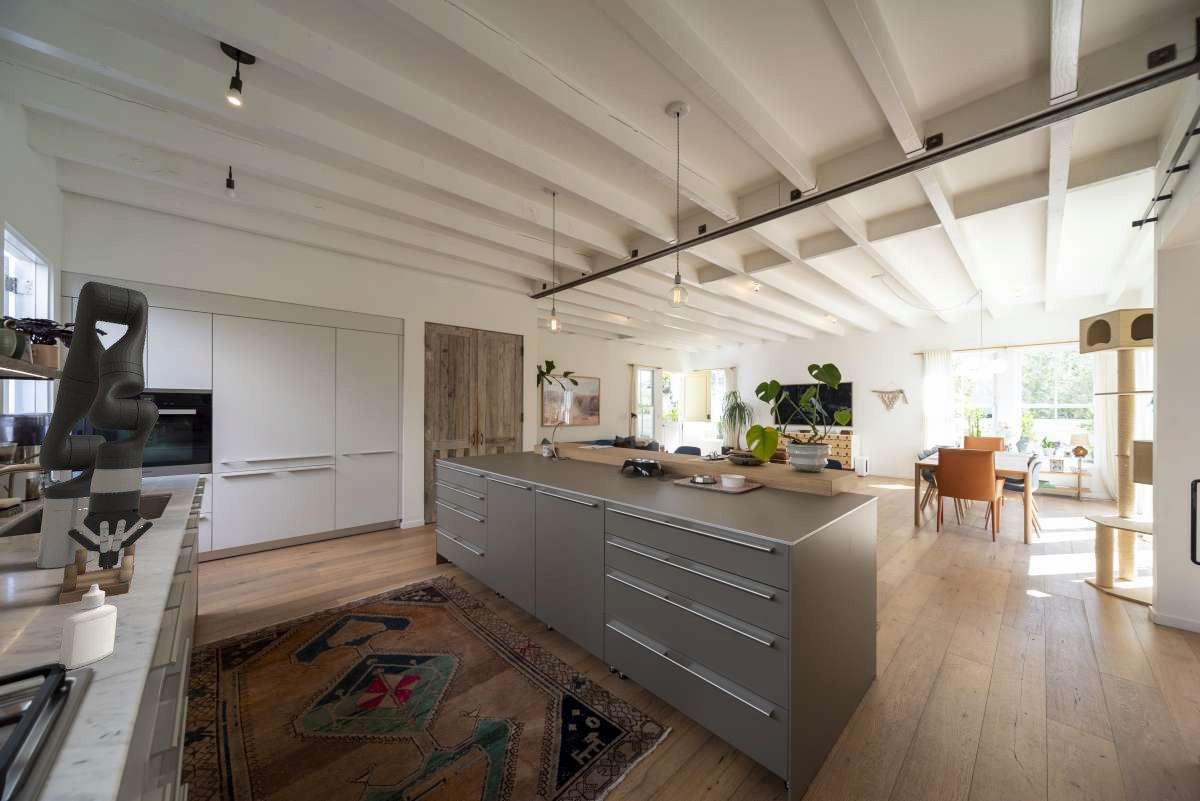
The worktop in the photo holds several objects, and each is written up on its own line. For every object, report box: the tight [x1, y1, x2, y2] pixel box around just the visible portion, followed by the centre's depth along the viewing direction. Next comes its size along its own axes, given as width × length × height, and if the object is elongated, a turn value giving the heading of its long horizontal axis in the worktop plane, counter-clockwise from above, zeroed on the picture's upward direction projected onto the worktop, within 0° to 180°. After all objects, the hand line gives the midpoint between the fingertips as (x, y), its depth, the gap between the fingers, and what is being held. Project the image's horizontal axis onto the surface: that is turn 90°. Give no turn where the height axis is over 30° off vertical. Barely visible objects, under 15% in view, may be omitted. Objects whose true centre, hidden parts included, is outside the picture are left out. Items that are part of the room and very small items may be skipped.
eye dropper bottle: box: [58, 584, 118, 670], centre depth 69 cm, size 4×6×12 cm
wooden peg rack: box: [58, 543, 136, 605], centre depth 97 cm, size 16×10×8 cm, turn 44°
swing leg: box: [119, 555, 135, 582], centre depth 99 cm, size 11×2×5 cm, turn 47°
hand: (107, 568), depth 94 cm, fingers closed
